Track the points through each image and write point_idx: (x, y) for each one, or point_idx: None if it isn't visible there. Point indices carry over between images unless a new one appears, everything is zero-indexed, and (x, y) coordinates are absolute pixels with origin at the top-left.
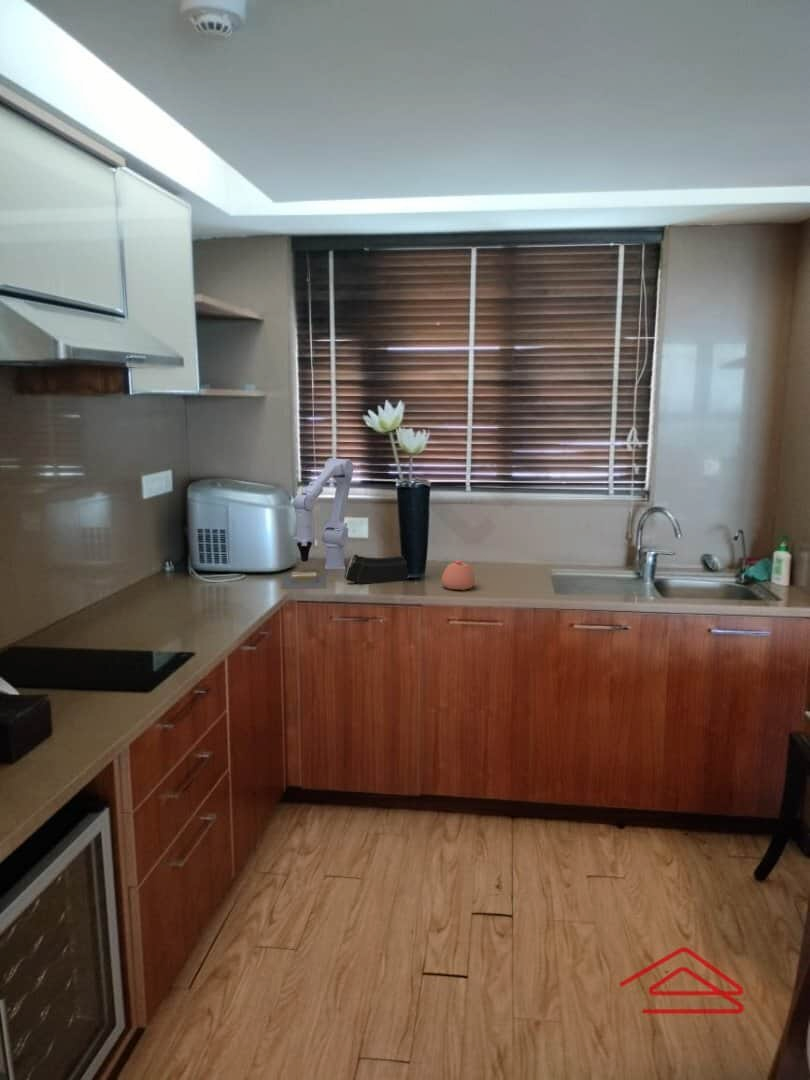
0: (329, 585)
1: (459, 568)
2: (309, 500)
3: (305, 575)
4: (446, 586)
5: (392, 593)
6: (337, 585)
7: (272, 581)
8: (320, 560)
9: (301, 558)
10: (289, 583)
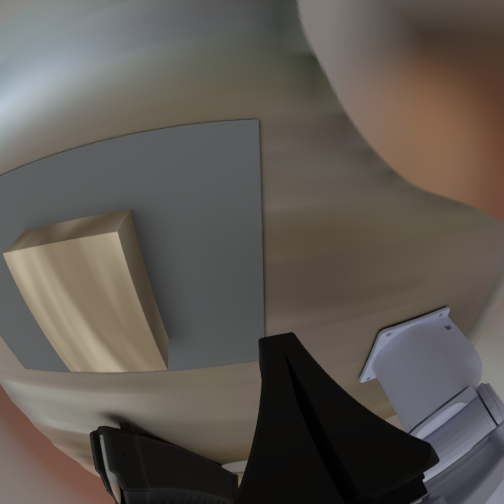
0: (73, 377)
1: None
2: None
3: (53, 328)
4: None
5: (77, 448)
6: (86, 394)
7: (64, 77)
8: (494, 273)
9: (261, 360)
10: (11, 220)
